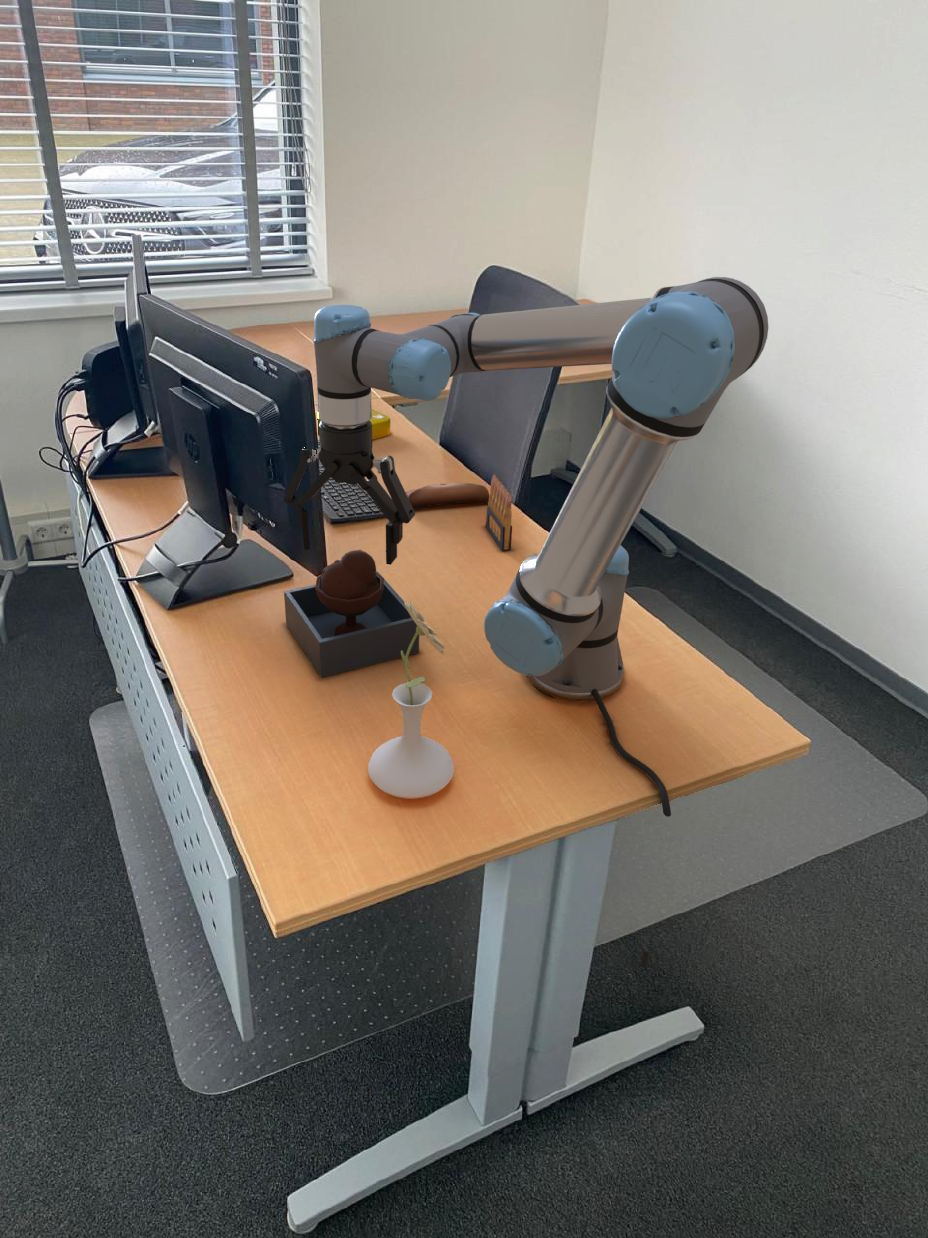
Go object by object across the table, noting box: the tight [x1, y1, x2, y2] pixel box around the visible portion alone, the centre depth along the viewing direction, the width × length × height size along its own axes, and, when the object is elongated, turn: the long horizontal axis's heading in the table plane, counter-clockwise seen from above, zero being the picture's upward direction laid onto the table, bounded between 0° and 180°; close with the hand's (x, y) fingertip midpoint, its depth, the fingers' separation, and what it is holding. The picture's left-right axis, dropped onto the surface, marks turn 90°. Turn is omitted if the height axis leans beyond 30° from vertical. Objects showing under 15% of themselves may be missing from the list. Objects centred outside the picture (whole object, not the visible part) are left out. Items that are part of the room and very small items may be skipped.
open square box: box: [283, 570, 420, 678], centre depth 147 cm, size 17×17×6 cm
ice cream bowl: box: [315, 549, 385, 636], centre depth 144 cm, size 11×11×15 cm
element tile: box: [316, 408, 391, 441], centre depth 226 cm, size 15×15×5 cm
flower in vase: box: [367, 600, 455, 800], centre depth 115 cm, size 13×11×25 cm
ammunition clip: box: [485, 473, 513, 552], centre depth 178 cm, size 11×2×12 cm, turn 17°
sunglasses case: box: [405, 482, 490, 510], centre depth 194 cm, size 18×7×7 cm
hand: (350, 553), depth 140 cm, fingers open, 13 cm apart
